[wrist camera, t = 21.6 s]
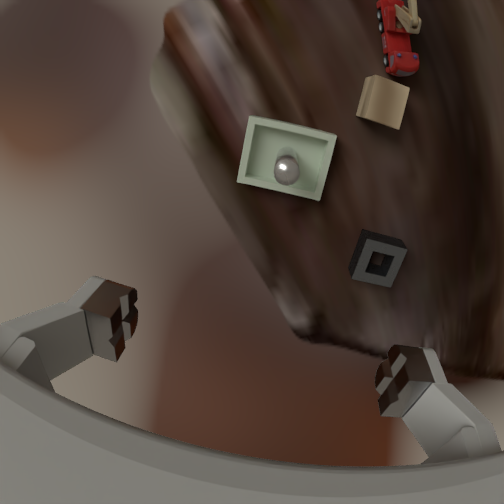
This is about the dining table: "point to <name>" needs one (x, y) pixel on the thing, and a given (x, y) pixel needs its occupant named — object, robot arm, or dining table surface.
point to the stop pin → (286, 166)
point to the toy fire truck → (398, 35)
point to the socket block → (372, 272)
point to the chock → (383, 101)
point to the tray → (271, 141)
